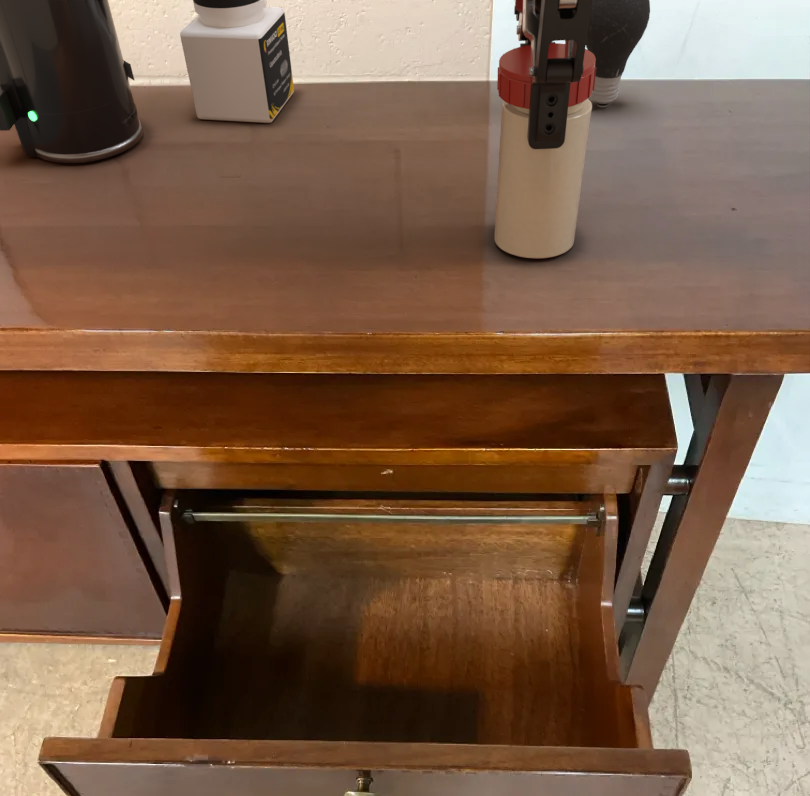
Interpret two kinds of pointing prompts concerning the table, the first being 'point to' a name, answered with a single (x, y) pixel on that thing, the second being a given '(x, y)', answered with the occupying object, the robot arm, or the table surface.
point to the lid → (518, 83)
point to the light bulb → (614, 42)
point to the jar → (539, 185)
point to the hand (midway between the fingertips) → (539, 124)
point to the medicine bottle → (238, 60)
